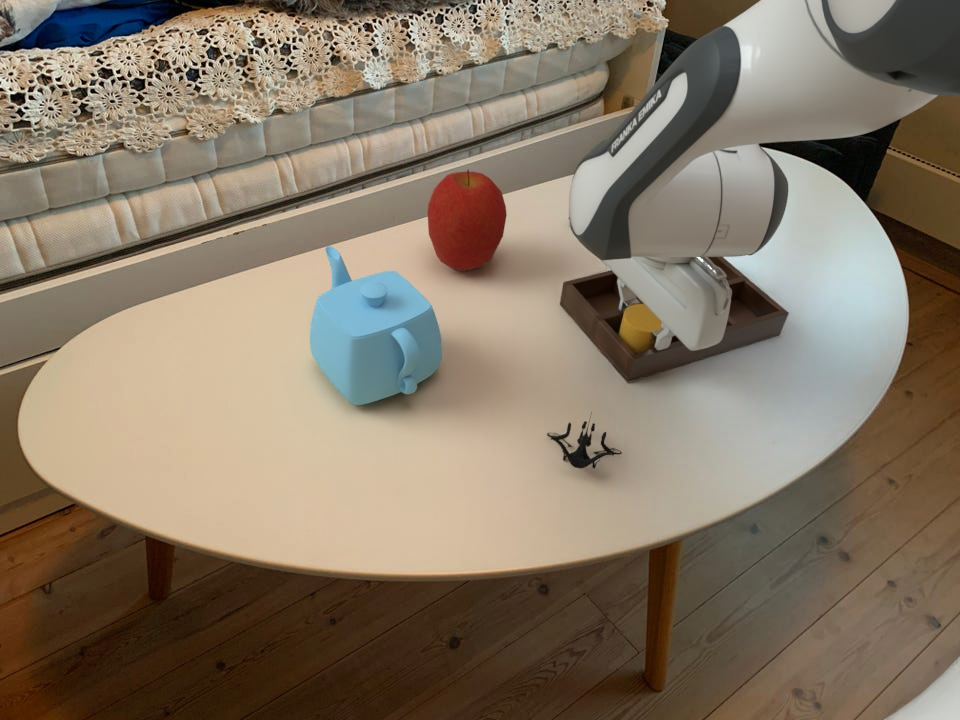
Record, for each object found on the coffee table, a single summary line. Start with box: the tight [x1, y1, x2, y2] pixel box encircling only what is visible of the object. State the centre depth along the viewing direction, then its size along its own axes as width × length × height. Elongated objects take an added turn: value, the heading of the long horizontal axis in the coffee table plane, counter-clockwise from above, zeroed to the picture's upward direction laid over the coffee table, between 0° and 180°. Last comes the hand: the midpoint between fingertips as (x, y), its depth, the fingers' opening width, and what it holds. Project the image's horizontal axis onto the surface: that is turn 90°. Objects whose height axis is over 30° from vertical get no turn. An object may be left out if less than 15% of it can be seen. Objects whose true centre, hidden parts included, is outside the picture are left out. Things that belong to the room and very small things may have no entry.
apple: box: [427, 168, 508, 272], centre depth 99 cm, size 10×10×14 cm
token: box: [618, 304, 663, 353], centre depth 90 cm, size 5×5×3 cm
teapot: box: [309, 245, 443, 406], centre depth 84 cm, size 12×18×12 cm
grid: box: [559, 257, 790, 383], centre depth 96 cm, size 15×23×4 cm
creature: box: [546, 411, 622, 470], centre depth 78 cm, size 8×5×8 cm
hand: (642, 328), depth 90 cm, fingers closed on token, 5 cm apart
